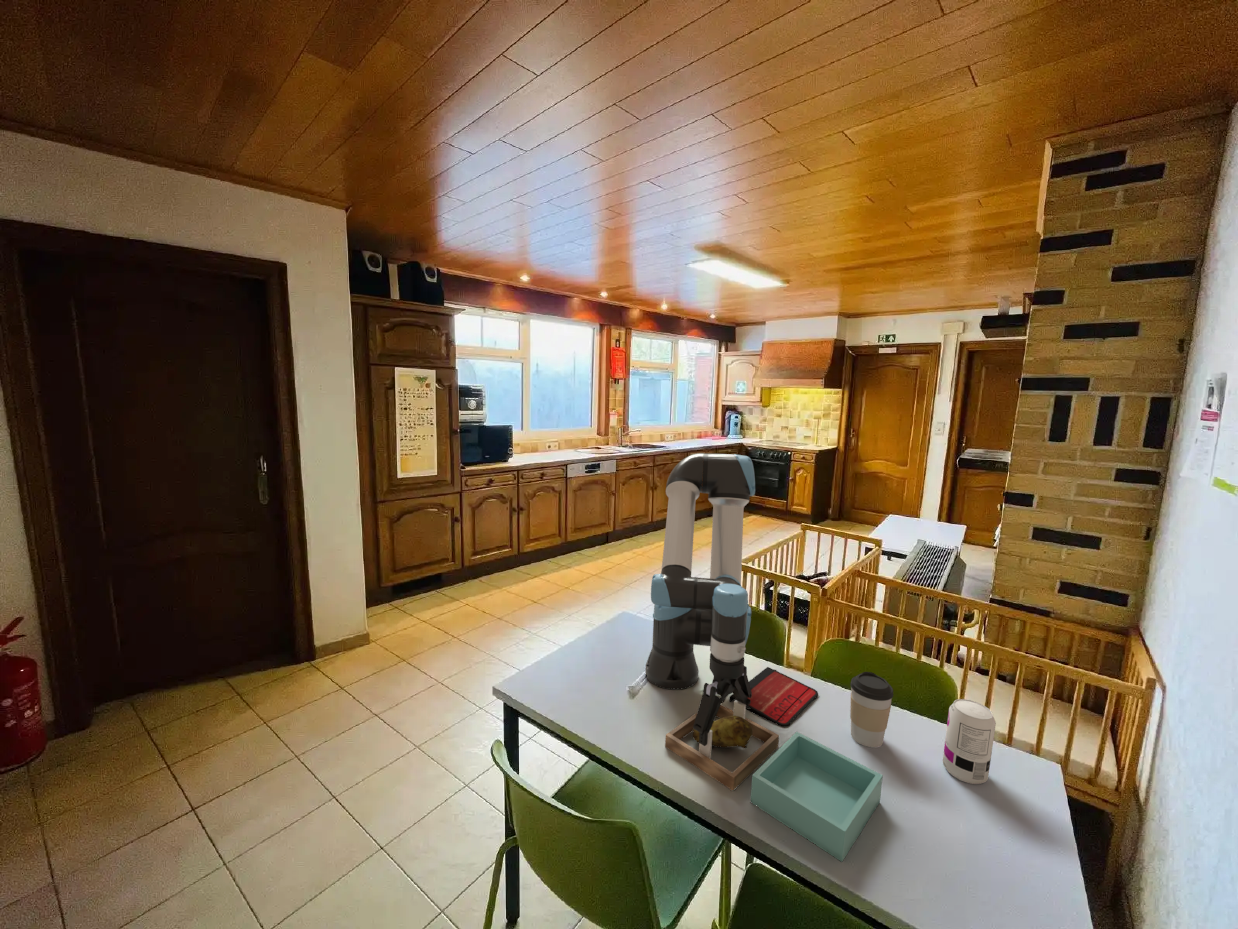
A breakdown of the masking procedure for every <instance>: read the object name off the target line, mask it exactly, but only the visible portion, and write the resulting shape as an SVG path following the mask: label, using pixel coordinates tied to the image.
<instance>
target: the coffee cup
mask: <svg viewBox="0 0 1238 929" xmlns="http://www.w3.org/2000/svg"><path fill="white" fill-rule="evenodd" d="M850 689H851V691H850V710H849V711H850V715H849V716H850V718H849V719H850V736H851V738H852V739H853V740H854V741H855V742H856V743H857V744H860V745H861V746H864V747H868V748H880V747H881V746H882V745H883V744H884V739H885V734H886V730H887V727H888V723H889V718H890V712H891V708H892V699H893V697H894V688H893V687H892V686H891V684H889V682H888V681H887V680H886V679H885V678H884V677H881V676H879V675H877V674H876V673H874V672H871V671H863V672H861V673H859V674H857V675H856V676H853V677H852V678H851V681H850Z"/></svg>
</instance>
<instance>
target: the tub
mask: <svg viewBox="0 0 1238 929" xmlns="http://www.w3.org/2000/svg"><path fill="white" fill-rule="evenodd" d="M778 748H779V749H778ZM778 748H777V749H776V750H775V751H776V752H775V751H774V752H773V753H772V754H771V755H770V756H769V757H768V758H767V759H766V761H765V762H763V764H762V765H760V766H759V767H758V769H757V770H756V771H754V773H753V774H751V776H752V777H751V788H750V790H751V791H750V801H751V802H752V803H753V804H752V803H751V802H750V803H751V804H752V805H754V804H755V805H757V806H758V807H759V809H760V810H761V809H762V810H761V811H763V812H764V811H765V812H764V813H766V812H767V813H766V814H768V815H769V814H770V815H769V816H771V817H772V818H774V819H775V818H776V819H775V820H777V821H778V822H780V823H781V822H782V823H781V824H783V825H784V826H786V827H787V826H788V828H789V829H790V828H791V829H790V830H792V829H793V830H792V831H793V832H795V833H797V834H798V835H800V836H801V835H802V836H801V837H803V838H804V839H806V838H807V839H808V841H809V842H810V843H812V842H813V843H814V845H815V844H816V845H815V846H817V847H818V848H820V849H821V850H823V851H824V852H826V853H827V852H828V854H829V855H831V856H832V857H833V856H834V858H835V859H836V860H838V861H840V862H841V863H843V861H844V860H845V858H846V857H847V855H848V854H849V852H850V850H851V849H852V847H853V845H854V844H855V842H856V841H857V839H858V838H859V836H860V835H861V833H862V831H863V830H864V828H865V827H866V825H867V823H868V822H869V820H870V819H871V817H872V815H873V814H874V812H875V811H876V809H877V808H878V806H879V805H880V803H881V795H882V787H883V786H882V785H883V778H884V777H883V776H884V775H883V774H881V773H879V772H877V771H876V770H874V769H872V768H869V767H867V766H865V765H863V764H861V763H860V762H857V760H856V761H855V760H853V759H851V758H850V757H848V756H846V755H844V754H842V753H840V752H838V751H836V750H834V749H832V748H830V747H828V746H826V745H824V744H822V743H820V742H818V741H816V740H815V739H814V740H813V739H812V738H810V737H808V736H807V735H804V734H802V733H800V732H798V731H796V732H795V733H794V734H792V735H791V737H790V738H788V740H787V741H786V742H784V744H782V745H781V746H780V747H778ZM755 805H754V806H755ZM757 806H756V807H757ZM758 807H757V808H758ZM807 839H806V840H807ZM813 843H812V844H813Z"/></svg>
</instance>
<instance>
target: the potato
mask: <svg viewBox="0 0 1238 929" xmlns="http://www.w3.org/2000/svg"><path fill="white" fill-rule="evenodd" d="M710 730H712V747H715V748H718V749H719V748H723V749H724V748H735V747H737V748H742V749H746V748H747V747H748V744H749V741H750V739H751V738H752V737H753V736H752V733H753V730H752V727H751V725H750V724H749V723H748V721H746V720H745V719H744V718H742V717H739V716H729V717H724V718H721V719H720V718H718V719H716V720H714V722H713V724H712V727H711V729H710ZM691 733H692V738H693V740H694V741H695V742H697V743H698V744H699V732H698V731H696V730H695V729H693V731H692V732H691Z"/></svg>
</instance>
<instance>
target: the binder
mask: <svg viewBox="0 0 1238 929" xmlns="http://www.w3.org/2000/svg"><path fill="white" fill-rule="evenodd" d="M748 681H749V685H750V688H751V692H752V697H751V698H749V697H748V699H749V700H751V703H750V705H748V704H746V709H745V711H747V712H749V713H752V714H754V715H755V716H758V717H760V718H762V719H765V720H766V721H769V722H771V723H772V724H775V725H777V726H779V727H783V728H788V727H790V726H791V724H792V722H794V720H795V719H796V718H797V717H798V716H799V714H801V713H802V712H803V711H804V710H805V708H807V707H808V706H809V705H810V704H811V703H812V702H813V701H815V700H816V699H817V698H818V696H819V691H818V690H817V689H815V688H813V687H811V686H808V685H806V684H804V683H803V682H800V681H798V680H796V679H794V678H792V677H790V676H788V675H787V674H784V673H782V672H781V671H780V672H779V671H777V670H775V669H773V668H772V667H769V666H767V667H766V668H764V669H763V670H761V671H760V672H759V673H757V675H755V676H754V677H753V678H752V679H750V680H748ZM735 700H737V701H738V699H736V697H735V696H734V694H733V693H731V695H729V703H732V702H734V701H735Z"/></svg>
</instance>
